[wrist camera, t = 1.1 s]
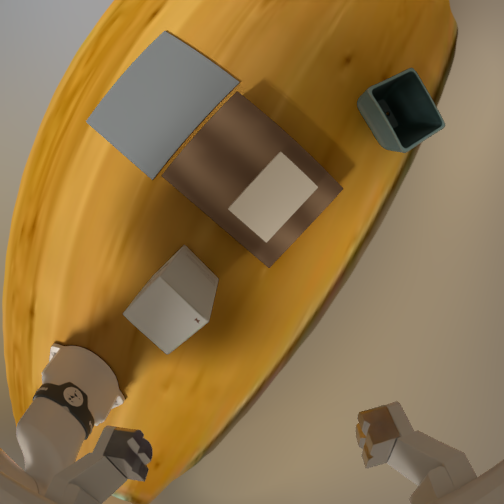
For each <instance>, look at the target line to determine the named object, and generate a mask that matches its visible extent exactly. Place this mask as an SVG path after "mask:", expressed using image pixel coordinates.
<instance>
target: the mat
mask: <svg viewBox="0 0 504 504" xmlns="http://www.w3.org/2000/svg"><path fill="white" fill-rule="evenodd" d="M239 83H240V82H239V81H237V80H236V79H235V78H233V77H232V76H231V75H229V74H228V73H227V72H225V71H224V70H223V69H221V68H220V67H219V66H217V65H216V64H214V63H213V62H212V61H210V60H209V59H207V58H206V57H204V56H203V55H202V54H200V53H199V52H197V51H196V50H194V49H193V48H191V47H190V46H188V45H187V44H185V43H183V42H182V41H180V40H179V39H177V38H176V37H174V36H172V35H171V34H169V33H167V32H166V31H164V32H163V33H162V34H161V35H160V36H159V37H158V38H156V39H155V40H154V41H153V42H152V43H151V44H150V45H149V46H148V47H147V48H146V49H145V50H144V51H143V53H142V54H141V55H140V56H139V57H138V58H137V59H136V60H135V61H134V62H133V63H132V64H131V65H130V67H129V68H128V69H127V70H126V71H125V72H124V73H123V75H122V76H121V77H120V78H119V79H118V80H117V82H116V83H115V84H114V85H113V86H112V88H111V89H110V90H109V91H108V93H107V94H106V95H105V97H104V98H103V99H102V100H101V102H100V103H99V104H98V106H97V107H96V108H95V110H94V111H93V113H92V114H91V115H90V117H89V118H88V120H87V121H86V122H87V123H88V124H89V125H90V126H91V127H92V128H94V129H95V130H96V131H97V132H98V133H99V134H100V135H102V136H103V137H104V138H105V139H106V140H107V141H108V142H110V143H111V144H112V145H113V146H114V147H115V148H116V149H118V150H119V151H120V152H121V153H122V154H123V155H124V156H126V157H127V158H128V159H129V160H130V161H131V162H132V163H134V164H135V165H136V166H137V167H138V168H139V169H140V170H142V171H143V172H144V173H145V174H146V175H147V176H149V177H150V178H151V179H152V180H153V179H154V178H155V177H156V175H157V174H158V173H159V171H160V170H161V169H162V168H163V166H164V165H165V164H166V163H167V161H168V160H169V159H170V158H171V157H172V155H173V154H174V153H175V152H176V151H177V149H178V148H179V147H180V146H181V145H182V143H183V142H184V141H185V140H186V139H187V138H188V137H189V135H190V134H191V133H192V132H193V131H194V130H195V129H196V128H197V126H198V125H199V124H200V123H201V122H202V121H203V120H204V119H205V118H206V117H207V116H208V114H209V113H210V112H211V111H212V110H213V109H214V108H215V107H216V106H217V105H218V104H219V103H220V102H221V101H222V100H223V99H224V98H225V97H226V96H227V95H228V94H229V93H230V92H231V91H232V90H233V89H234V88H235V87H236V86H237V85H238V84H239Z"/></svg>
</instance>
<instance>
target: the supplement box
mask: <svg viewBox="0 0 504 504" xmlns="http://www.w3.org/2000/svg"><path fill="white" fill-rule="evenodd" d="M218 281H219V279H218V278H217V276H215V275H214V273H213V272H212V271H211V270H210V269H208V267H207V266H206V265H205V264H204V263H203V262H202V261H201V260H200V259H199V258H198V257H197V256H196V255H195V254H194V253H193V252H192V251H191V250H190V249H189V248H188V247H187V246H186V245H183V246H182V247H181V248H180V249H179V250H178V251H177V252H176V253H175V254H174V255H173V256H172V257H171V258H170V259H169V260H168V261H167V262H166V263H165V264H164V265H163V266H162V267H161V268H160V269H159V270H158V271H157V272H156V273H155V274H154V275H153V276H152V278H151V279H150V280H149V281H148V282H147V284H146V285H145V286H144V287H143V288H142V290H141V291H140V292H139V293H138V295H137V296H136V297H135V299H134V300H133V301H132V302H131V304H130V305H129V306H128V308H127V309H126V310H125V311H124V313H123V315H124V316H125V317H126V318H127V319H128V320H129V321H130V322H131V323H132V324H133V325H134V326H135V327H137V328H138V329H139V330H140V331H141V332H142V333H143V334H144V335H145V336H147V337H148V338H149V339H150V340H151V341H152V342H153V343H154V344H155V345H157V346H158V347H159V348H160V349H161V350H162V351H163V352H164V353H166V354H170V353H171V352H172V351H173V350H175V349H176V348H177V347H178V346H180V345H181V344H182V343H183V342H184V341H186V340H187V339H189V338H190V337H191V336H192V335H193V334H194V333H196V332H197V331H198V330H199V329H201V328H202V327H203V326H204V325H205V324H207V323H208V322H209V320H210V315H211V311H212V307H213V302H214V298H215V294H216V289H217V285H218Z"/></svg>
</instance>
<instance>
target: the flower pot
mask: <svg viewBox="0 0 504 504" xmlns="http://www.w3.org/2000/svg"><path fill="white" fill-rule="evenodd" d="M357 107H358V109H359V111H360V113H361V115H362V116H363V118H364V119H365V121H366V123H367V124H368V126H369V128H370V129H371V131H372V133H373V135H374V136H375V138H376V140H377V141H378V143H379V144H380V145H381V146H382V147H383V148H385V149H387V150H391V151H397V152H403V153H406V152H408V151H410V150H411V149H412V148H414V147H415V146H417V145H418V144H420V143H421V142H423V141H424V140H426V139H427V138H429V137H431V136H432V135H434V134H435V133H437V132H438V131H440V130H442V129H443V128H444V127H445V123H444V121H443V118H442V117H441V114H440V113H439V111H438V110H437V107H436V105H435V103H434V102H433V100H432V98H431V96H430V94H429V93H428V91H427V89H426V87H425V86H424V84H423V82H422V81H421V79H420V77H419V76H418V74H417V72H416V71H415V70H414V69H413V68H409V69H407V70H405V71H403V72H401V73H399V74H397V75H395V76H392V77H390V78H388V79H386V80H384V81H382V82H380V83H378V84H376V85H373V86H371V87H369V88H368V89H367V90H366V91H365V92H364V93H363V94H362V95H361V96H360V97H359V99H358V101H357ZM387 112H388V113H389V115H387V114H386V113H387Z"/></svg>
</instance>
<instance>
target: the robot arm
mask: <svg viewBox="0 0 504 504" xmlns="http://www.w3.org/2000/svg"><path fill="white" fill-rule="evenodd" d="M42 384H43V385H42V386H41V387H40V388H39V389H38V390H37V391H36V393H35V395H34V397H33V402H32V404H31V405H30V406H29V408H28V409H27V411H26V412H25V413H24V415H23V416H22V418H21V419H20V421H19V422H18V424H17V429H16V435H17V440H18V442H19V445H20V447H21V449H22V452H23V455H24V459H25V471H24V470H23V469H21V468H20V467H19V466H18V465H17V464H16V463H15V462H14V461H13V460H12V459H11V458H10V457H9V456H8V455H7V454H6V453H5V452H4V451H3V450H2V449H1V448H0V504H102V503H103V502H104V501H105V500H106V499H107V498H108V497H110V496H111V495H112V494H113V493H114V492H115V491H116V490H117V489H118V488H119V487H120V486H121V485H122V484H123V483H124V482H125V481H127V479H132V480H138V481H145V479H146V476H147V473H148V467H147V464H148V463H149V462H150V461H151V459H152V447H151V444H150V443H149V441H147V440H146V439H144V438H143V436H144V434H143V433H142V432H141V430H136V429H128V428H120V427H114V426H106V427H105V428H104V430H103V432H102V434H101V436H100V438H99V440H98V442H97V444H96V446H95V448H94V451H93V453H88V454H87V455H85V456H84V457H82V458H81V459H79V460H78V461H76V458H77V455H78V453H79V450H80V448H81V446H82V443H83V441H84V440H86V439H87V438H88V436H89V435H90V434H91V432H92V429H93V427H94V425H95V426H98V425H99V424H100V423H102V422H104V421H105V420H106V418H107V416H108V414H109V412H110V410H111V409H113V408H115V407H117V406H119V405H121V404H123V402H124V401H125V398H124V396H123V394H122V393H121V391H120V390H119V386H118V382H117V379H116V376H115V374H114V373H113V371H112V370H111V368H110V367H109V366H108V365H107V364H106V363H105V362H104V361H103V360H102V359H101V358H100V357H98V356H97V355H96V354H94V353H93V352H91V351H89V350H87V349H85V348H82V347H79V346H62V345H59V344H55V343H54V344H53V345H52V346H51V350H50V359H49V363H48V365H47V366H46V367H45V369H44V370H43V371H42ZM358 421H359V423H358V424H357V425H356V438H357V442H358V445H359V447H361V448H362V449H363V452H362V458H363V461H364V464H365V468H369V467H373V466H377V465H380V464H384V463H387V462H388V463H387V464H389V465H390V466H391V467H393V468H394V469H395V470H397V471H398V472H399V473H401V474H402V475H404V476H405V477H406V478H408V479H409V480H411V481H412V482H413V483H415V484H417V485H418V488H417V489H416V490H415V491H414V493H413V494H412V495H411V497H410V498H409V500H410V503H411V504H504V460H502V461H501V462H500V463H498V464H497V465H495V466H494V467H492V468H491V469H489V470H488V471H487V472H485V473H483V474H482V475H480V476H479V477H477V476H476V474H475V472H474V470H473V468H472V466H471V464H470V463H469V461H468V459H467V457H466V455H465V453H463V452H461V451H459V450H457V449H455V448H453V447H450V446H448V445H446V444H444V443H442V442H440V441H438V440H436V439H434V438H432V437H430V436H428V435H426V434H424V433H422V432H420V431H414V430H413V428H412V426H411V424H410V422H409V420H408V418H407V416H406V414H405V412H404V410H403V408H402V407H401V405H400V403H399V402H397V401H396V402H393V403H390V404H387V405H382V406H379V407H376V408H372V409H369V410H365V411H362V412H359V414H358ZM75 461H76V462H75Z"/></svg>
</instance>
